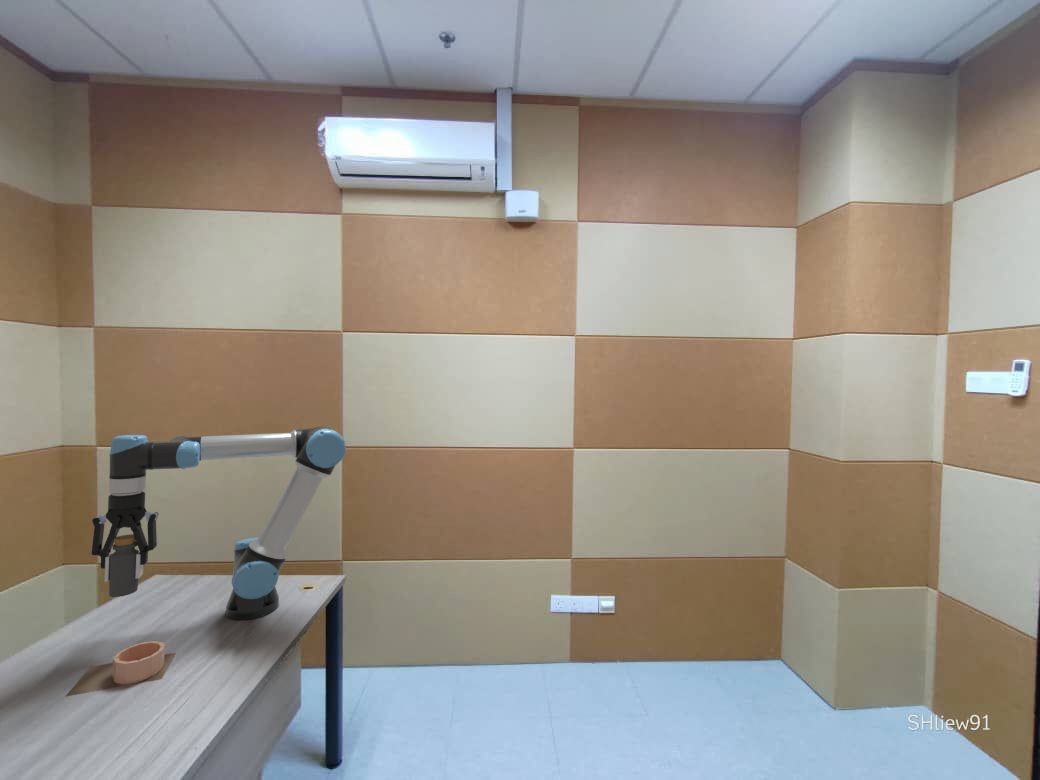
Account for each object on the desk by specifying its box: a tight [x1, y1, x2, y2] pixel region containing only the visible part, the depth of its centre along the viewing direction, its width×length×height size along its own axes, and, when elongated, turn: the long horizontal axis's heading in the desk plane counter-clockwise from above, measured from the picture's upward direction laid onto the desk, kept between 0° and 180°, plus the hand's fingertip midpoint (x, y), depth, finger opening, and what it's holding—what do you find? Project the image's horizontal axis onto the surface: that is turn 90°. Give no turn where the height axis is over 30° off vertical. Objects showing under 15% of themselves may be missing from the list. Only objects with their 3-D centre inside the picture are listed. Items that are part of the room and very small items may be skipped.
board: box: [65, 652, 177, 697], centre depth 112 cm, size 18×12×1 cm, turn 113°
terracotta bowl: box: [112, 640, 166, 686], centre depth 113 cm, size 10×10×5 cm
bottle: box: [108, 533, 140, 598], centre depth 121 cm, size 6×6×15 cm
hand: (124, 578), depth 121 cm, fingers closed on bottle, 6 cm apart
